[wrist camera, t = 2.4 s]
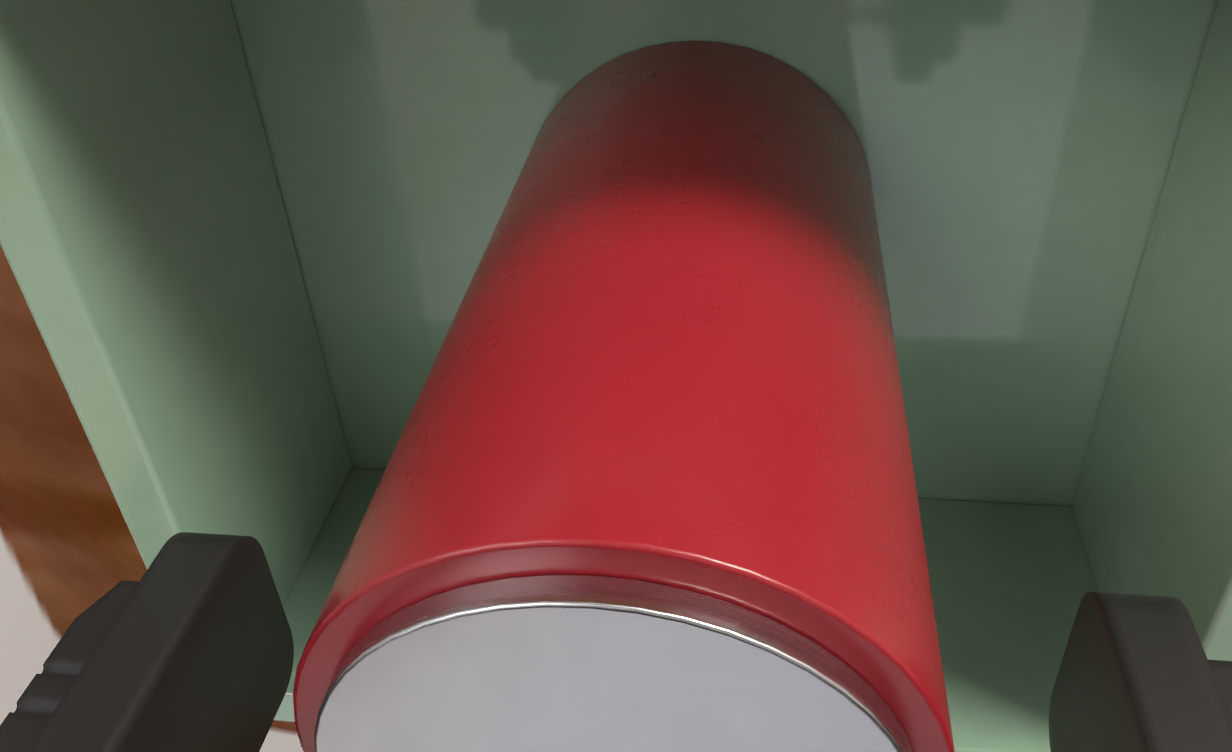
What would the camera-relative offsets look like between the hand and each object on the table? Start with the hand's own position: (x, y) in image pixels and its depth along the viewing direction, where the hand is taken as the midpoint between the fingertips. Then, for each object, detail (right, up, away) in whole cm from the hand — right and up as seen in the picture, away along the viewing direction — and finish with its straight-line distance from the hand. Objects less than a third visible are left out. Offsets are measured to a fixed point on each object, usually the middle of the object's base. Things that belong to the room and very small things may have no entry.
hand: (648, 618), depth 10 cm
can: (+1, +5, +7) cm, 8 cm away
